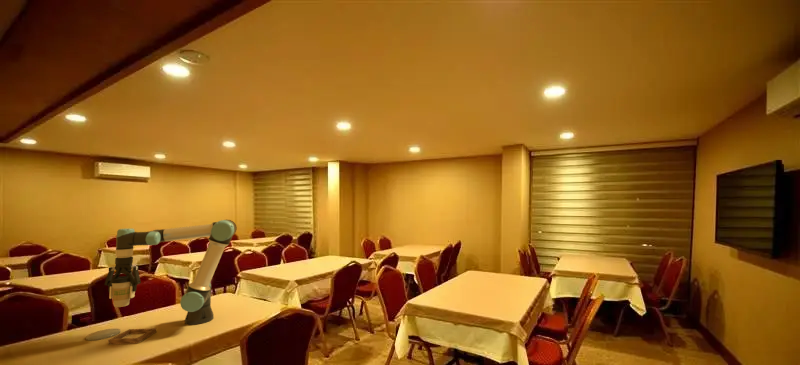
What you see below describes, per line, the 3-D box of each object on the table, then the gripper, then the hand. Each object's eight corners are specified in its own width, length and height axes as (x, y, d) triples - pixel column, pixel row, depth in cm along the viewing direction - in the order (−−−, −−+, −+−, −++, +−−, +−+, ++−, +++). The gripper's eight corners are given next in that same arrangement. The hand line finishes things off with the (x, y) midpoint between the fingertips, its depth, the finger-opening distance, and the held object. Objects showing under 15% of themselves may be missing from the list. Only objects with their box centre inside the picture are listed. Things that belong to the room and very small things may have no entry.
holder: (156, 332, 185) (156, 328, 185) (137, 343, 171) (137, 338, 171) (129, 333, 184) (129, 329, 184) (108, 344, 170) (108, 340, 170)
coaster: (126, 329, 189) (126, 327, 189) (106, 339, 175) (106, 337, 175) (100, 330, 188) (100, 329, 188) (78, 341, 174) (78, 339, 174)
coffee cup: (120, 308, 174) (121, 280, 175) (104, 307, 176) (106, 279, 177) (137, 303, 184) (139, 276, 185) (123, 302, 185) (124, 275, 186)
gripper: (150, 255, 186) (148, 295, 185) (107, 255, 184) (105, 296, 183) (141, 257, 179) (139, 299, 177) (96, 258, 177) (94, 300, 175)
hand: (122, 297), depth 180 cm, fingers closed on coffee cup, 10 cm apart
